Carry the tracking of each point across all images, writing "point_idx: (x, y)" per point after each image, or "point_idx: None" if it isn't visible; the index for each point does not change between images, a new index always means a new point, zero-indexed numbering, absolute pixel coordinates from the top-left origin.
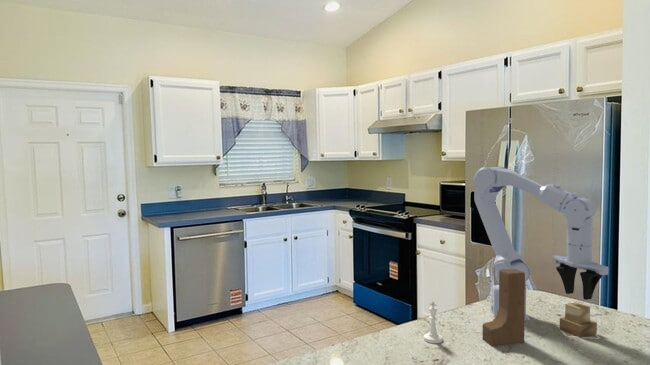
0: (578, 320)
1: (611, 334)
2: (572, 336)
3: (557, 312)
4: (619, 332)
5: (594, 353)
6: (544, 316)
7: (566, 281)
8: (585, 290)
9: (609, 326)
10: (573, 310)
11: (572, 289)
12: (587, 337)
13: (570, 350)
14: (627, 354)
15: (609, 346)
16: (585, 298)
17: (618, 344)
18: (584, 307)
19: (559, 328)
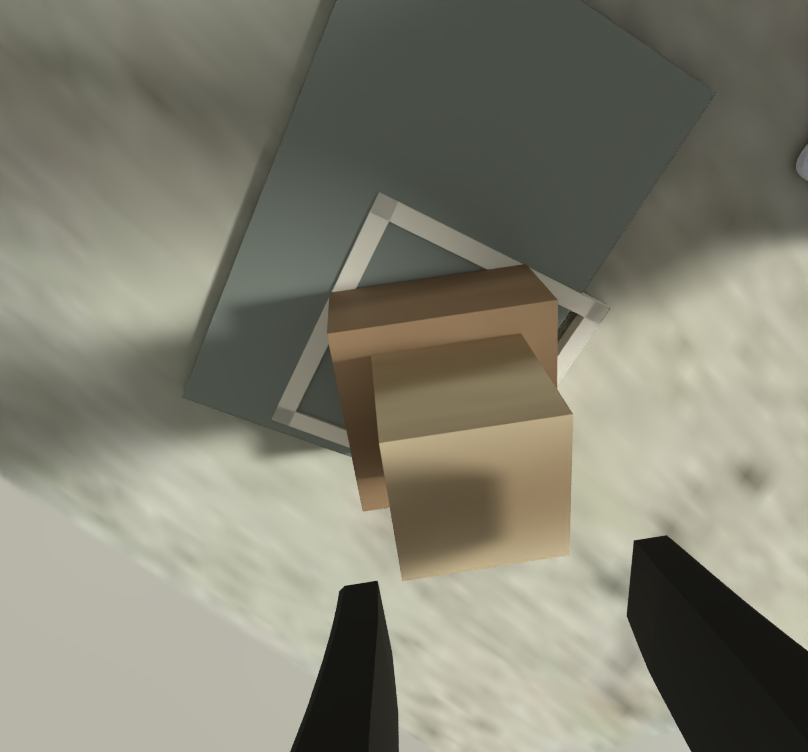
0: (375, 370)
1: (355, 537)
2: (366, 252)
3: (782, 496)
4: None
5: (52, 186)
6: (791, 368)
7: (768, 712)
8: (319, 709)
9: (462, 603)
10: (448, 407)
11: (650, 651)
12: (319, 349)
13: (131, 13)
14: (28, 403)
15: (175, 393)
16: (343, 595)
17: (199, 467)
18: (394, 518)
19: (541, 278)
